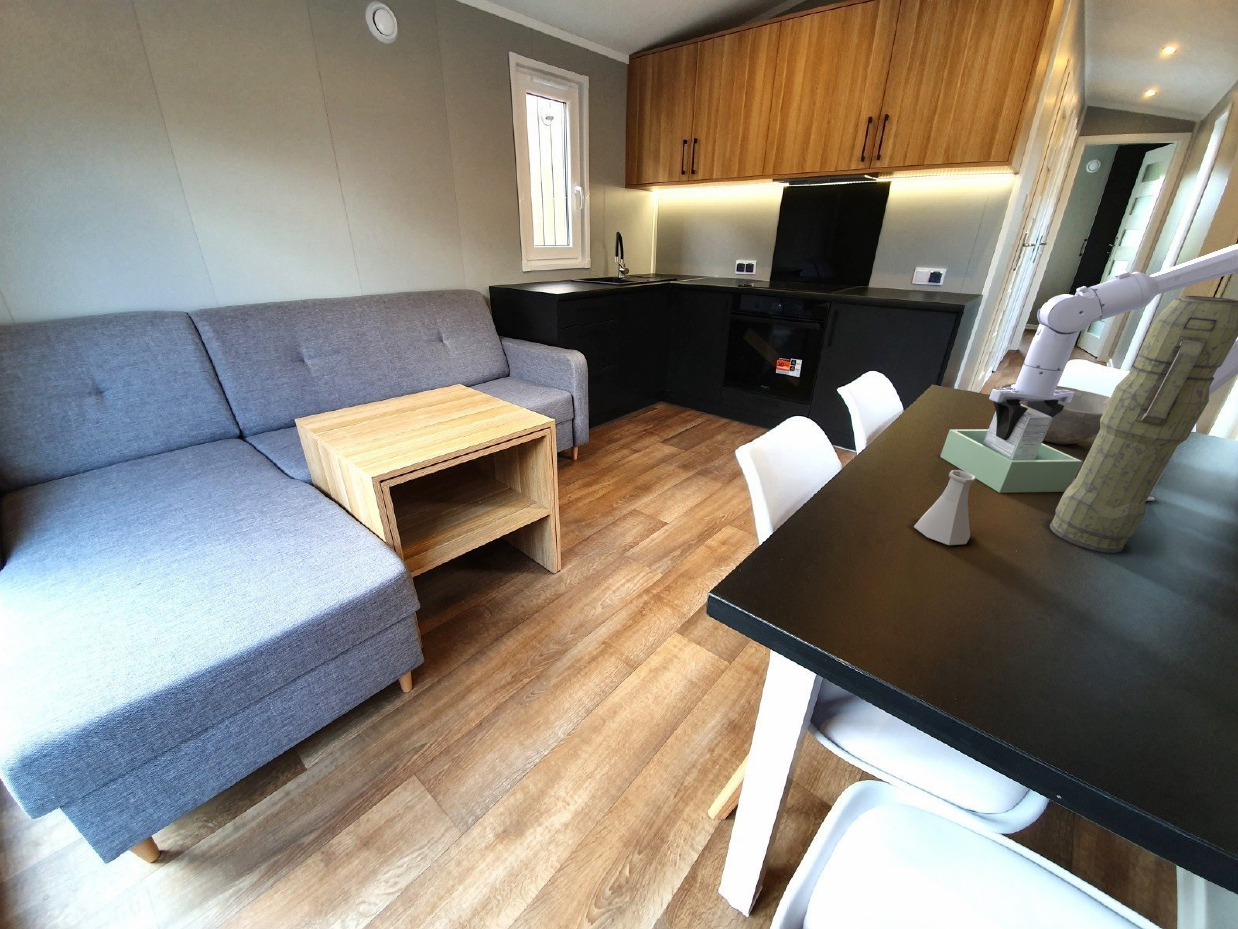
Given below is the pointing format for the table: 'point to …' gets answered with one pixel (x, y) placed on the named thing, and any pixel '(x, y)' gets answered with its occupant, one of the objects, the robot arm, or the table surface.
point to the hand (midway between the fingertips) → (1014, 437)
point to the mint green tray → (1009, 464)
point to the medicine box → (1021, 436)
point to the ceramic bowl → (1075, 417)
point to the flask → (949, 512)
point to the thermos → (1147, 422)
